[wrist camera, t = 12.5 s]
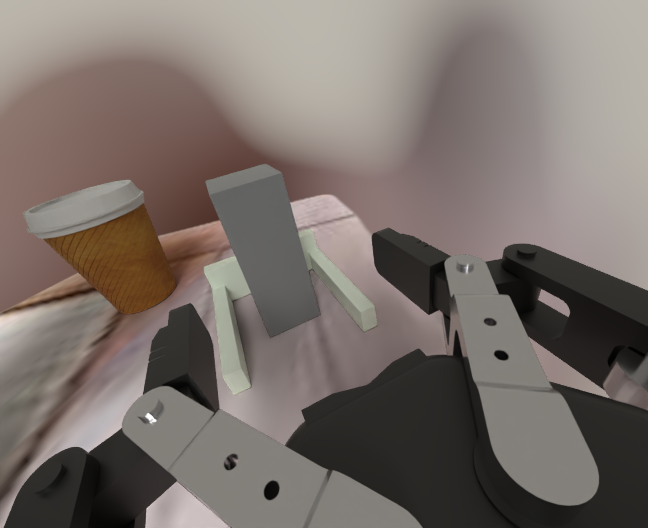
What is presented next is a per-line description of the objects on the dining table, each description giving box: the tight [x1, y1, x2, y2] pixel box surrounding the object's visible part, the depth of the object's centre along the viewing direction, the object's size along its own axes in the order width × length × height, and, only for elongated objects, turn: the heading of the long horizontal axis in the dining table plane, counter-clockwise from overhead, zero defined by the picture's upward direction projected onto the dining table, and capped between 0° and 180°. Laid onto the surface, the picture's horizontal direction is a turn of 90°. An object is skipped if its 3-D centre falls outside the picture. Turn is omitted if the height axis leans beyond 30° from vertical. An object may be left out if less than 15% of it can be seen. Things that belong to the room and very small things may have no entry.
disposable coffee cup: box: [23, 180, 176, 314], centre depth 29 cm, size 10×10×12 cm
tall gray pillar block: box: [206, 164, 320, 338], centre depth 22 cm, size 5×4×12 cm
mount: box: [204, 228, 377, 395], centre depth 24 cm, size 12×11×4 cm
